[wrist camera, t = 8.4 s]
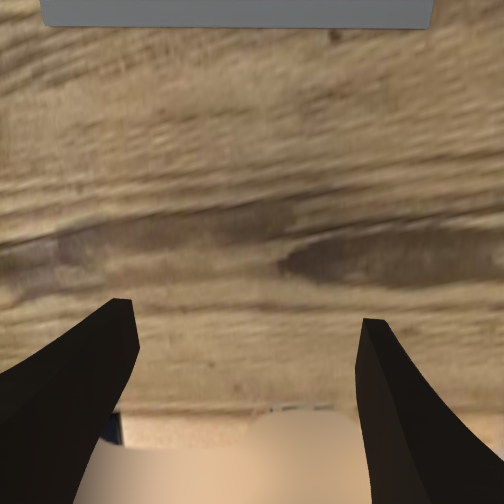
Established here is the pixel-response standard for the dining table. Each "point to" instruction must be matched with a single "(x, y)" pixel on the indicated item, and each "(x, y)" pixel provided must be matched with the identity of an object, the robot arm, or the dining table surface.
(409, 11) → the mat
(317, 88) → the dining table surface
